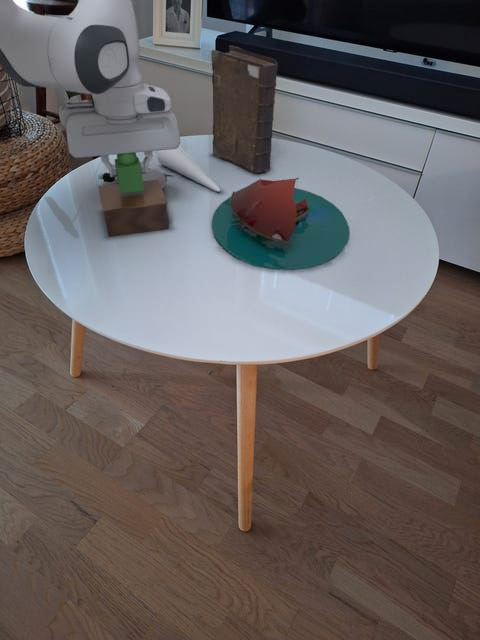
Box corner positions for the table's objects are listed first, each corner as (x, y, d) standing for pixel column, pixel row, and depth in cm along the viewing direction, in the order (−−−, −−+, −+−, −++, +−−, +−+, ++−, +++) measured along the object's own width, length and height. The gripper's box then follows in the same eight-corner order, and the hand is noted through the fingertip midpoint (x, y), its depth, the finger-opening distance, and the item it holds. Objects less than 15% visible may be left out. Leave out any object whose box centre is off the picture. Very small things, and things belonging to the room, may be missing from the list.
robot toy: (96, 188, 108) (131, 208, 99) (92, 169, 105) (127, 188, 96) (141, 174, 114) (177, 192, 106) (138, 155, 111) (175, 172, 103)
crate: (107, 237, 91) (102, 210, 87) (103, 212, 99) (98, 185, 95) (169, 229, 94) (167, 202, 90) (160, 205, 102) (158, 179, 98)
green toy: (120, 193, 89) (114, 152, 84) (118, 183, 92) (111, 143, 87) (144, 191, 90) (139, 150, 85) (140, 180, 93) (135, 141, 88)
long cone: (197, 206, 105) (156, 166, 115) (220, 201, 108) (178, 163, 118) (200, 183, 101) (157, 144, 111) (224, 179, 105) (180, 141, 114)
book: (273, 171, 116) (282, 60, 99) (251, 178, 113) (257, 64, 96) (232, 149, 125) (233, 44, 109) (210, 155, 122) (209, 48, 105)
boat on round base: (187, 216, 98) (184, 168, 90) (293, 180, 109) (298, 134, 101) (261, 295, 83) (265, 246, 74) (376, 245, 93) (391, 196, 85)
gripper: (56, 108, 76) (74, 187, 85) (179, 100, 80) (183, 175, 90) (55, 96, 80) (72, 172, 89) (172, 89, 85) (177, 162, 94)
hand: (129, 174), depth 90 cm, fingers closed on green toy, 4 cm apart
